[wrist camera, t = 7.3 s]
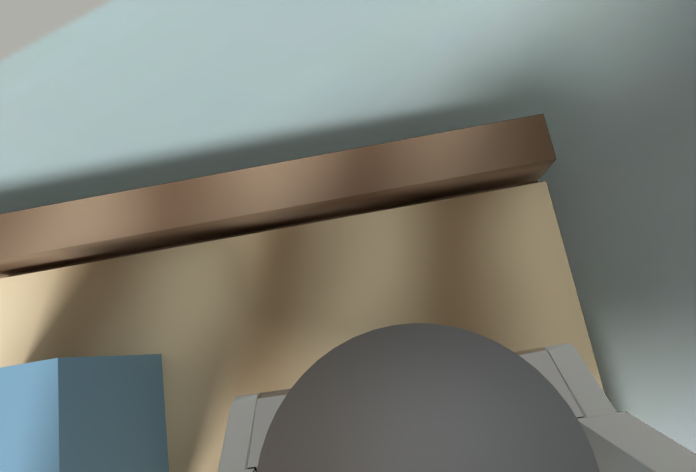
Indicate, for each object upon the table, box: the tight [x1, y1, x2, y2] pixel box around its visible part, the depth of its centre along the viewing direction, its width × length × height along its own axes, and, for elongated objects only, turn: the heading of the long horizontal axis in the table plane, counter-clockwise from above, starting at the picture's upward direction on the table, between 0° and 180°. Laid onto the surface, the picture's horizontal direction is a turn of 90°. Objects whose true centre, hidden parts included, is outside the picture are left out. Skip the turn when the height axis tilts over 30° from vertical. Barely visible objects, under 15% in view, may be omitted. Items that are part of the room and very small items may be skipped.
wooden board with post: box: [0, 181, 604, 472], centre depth 10 cm, size 20×12×11 cm, turn 99°
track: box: [0, 114, 556, 279], centre depth 15 cm, size 24×16×3 cm, turn 99°
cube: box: [0, 354, 169, 472], centre depth 13 cm, size 5×5×5 cm
